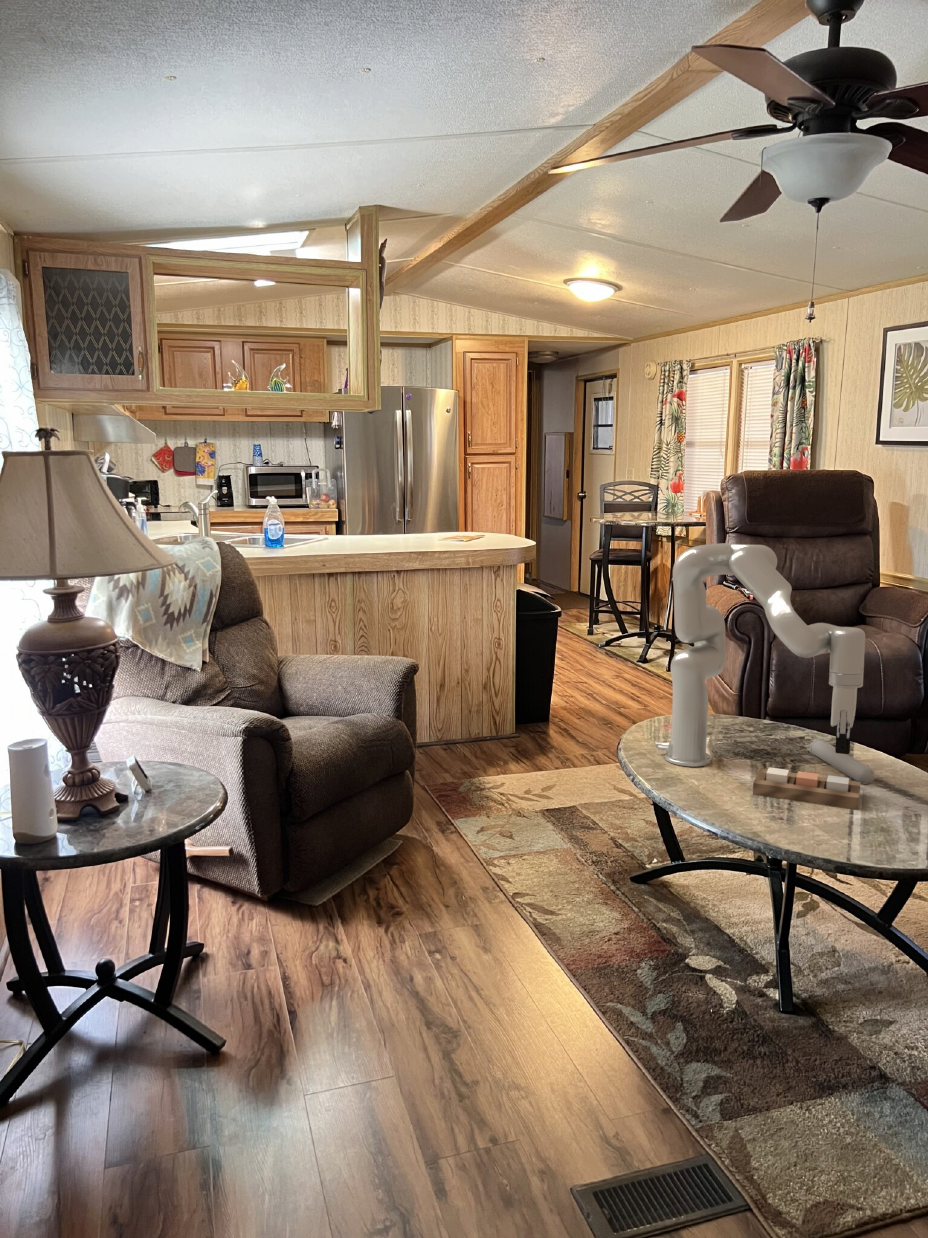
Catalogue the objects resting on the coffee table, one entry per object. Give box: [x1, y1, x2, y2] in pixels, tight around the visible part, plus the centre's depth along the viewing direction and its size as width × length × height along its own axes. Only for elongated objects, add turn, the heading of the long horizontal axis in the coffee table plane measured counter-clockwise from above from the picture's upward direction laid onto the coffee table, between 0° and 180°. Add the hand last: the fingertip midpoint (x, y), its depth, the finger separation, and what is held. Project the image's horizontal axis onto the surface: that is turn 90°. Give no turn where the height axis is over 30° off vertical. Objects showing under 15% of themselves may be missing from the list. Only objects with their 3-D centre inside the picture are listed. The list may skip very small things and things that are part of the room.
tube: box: [809, 738, 875, 785], centre depth 239 cm, size 5×5×25 cm
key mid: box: [796, 770, 820, 788], centre depth 221 cm, size 5×5×3 cm
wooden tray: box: [752, 768, 861, 811], centre depth 221 cm, size 24×12×3 cm, turn 65°
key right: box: [826, 774, 850, 792], centre depth 218 cm, size 5×5×3 cm
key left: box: [766, 766, 790, 784], centre depth 224 cm, size 5×5×3 cm
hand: (842, 752), depth 216 cm, fingers closed
